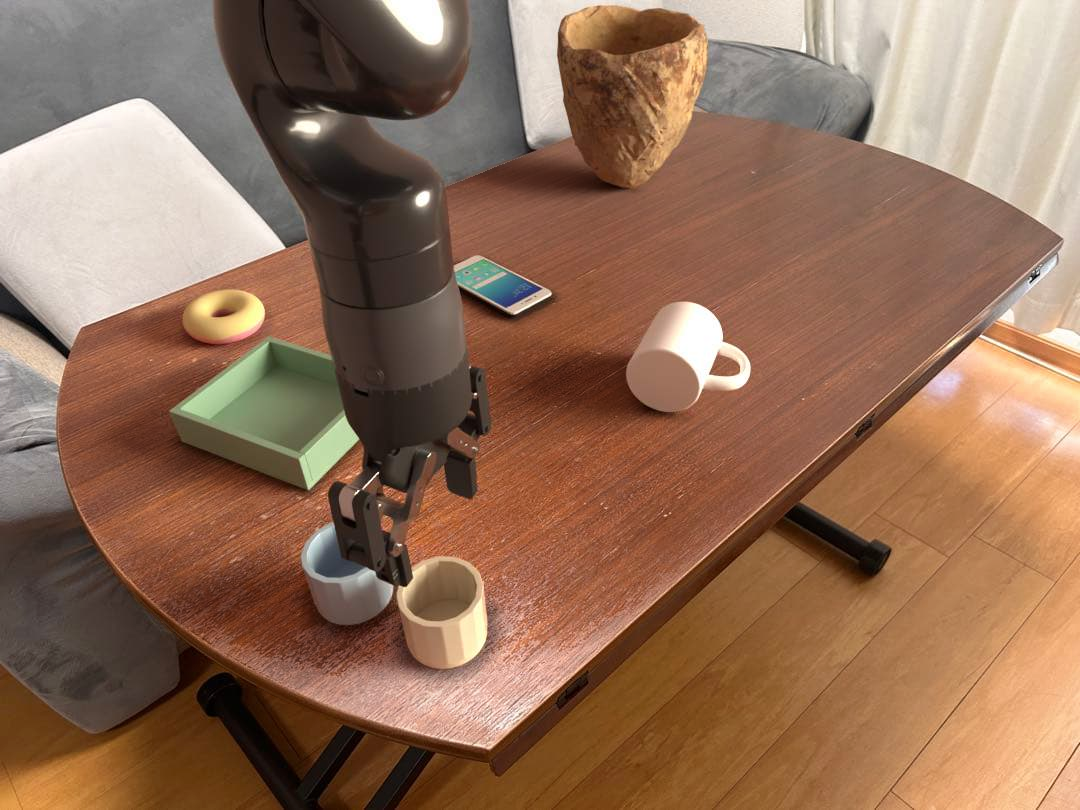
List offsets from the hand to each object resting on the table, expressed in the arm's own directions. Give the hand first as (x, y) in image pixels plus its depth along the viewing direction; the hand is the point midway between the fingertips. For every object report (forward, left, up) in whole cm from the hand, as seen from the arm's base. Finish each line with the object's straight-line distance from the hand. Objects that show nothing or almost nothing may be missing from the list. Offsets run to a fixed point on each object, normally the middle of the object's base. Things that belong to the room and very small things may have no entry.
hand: (431, 534), depth 53 cm
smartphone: (+48, +22, -12) cm, 54 cm away
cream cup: (0, 0, -12) cm, 12 cm away
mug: (+38, -8, -12) cm, 40 cm away
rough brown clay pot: (+87, +19, -12) cm, 90 cm away
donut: (+26, +48, -12) cm, 56 cm away
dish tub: (+15, +28, -12) cm, 34 cm away
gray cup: (0, +9, -12) cm, 15 cm away
